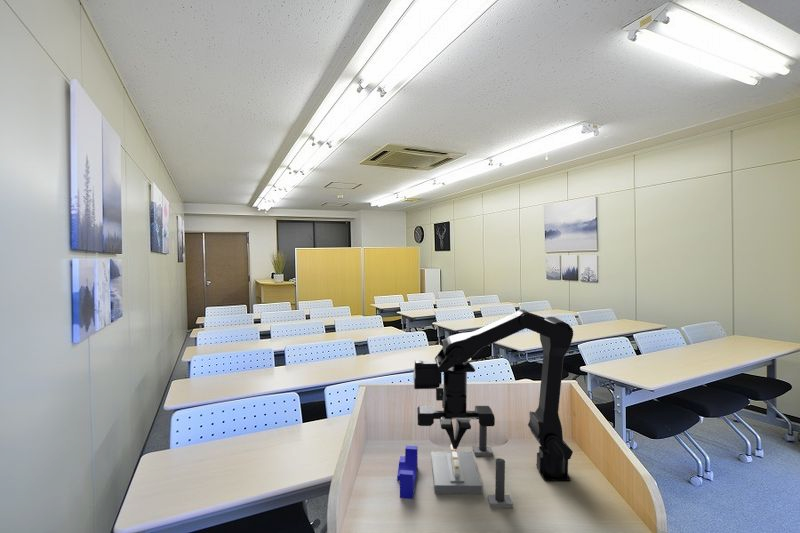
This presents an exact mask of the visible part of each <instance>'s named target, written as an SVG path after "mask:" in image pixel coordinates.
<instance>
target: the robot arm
mask: <svg viewBox="0 0 800 533" xmlns="http://www.w3.org/2000/svg"><path fill="white" fill-rule="evenodd" d="M526 329H527V330H530V331H532V332H535V333H537V334H539V341H540V344H541V349H542V352H543V355H542V356H543V357H542V367H541V379H540V380H541V381H540V388H539V389H540V390H539V399H538V400H539V401H538V407H537V408H536V410H535V411H531V410H530V411H529V412H528V413H529V421H528V424H527V426H528V428H529V429H530V430H529V431H530V432H531V434H532V435H533V437H534V438H535V440H536V441H537V443H538V444H539V446H538V452H537V453H536V464H535V466H536V469H537V471H538V472H539V474H540V475H541V477H542V479H543V480H544V481H545V482H547V481H548V482H553V481H554V482H570V481H571V476H570V475H569V474H568V473H569V472H568V471H569V460H571V459H572V456H573V452H574V451H573V450H572V449H571V447H570V446H569V445H568V444H567V443H566V441H564V435H563V427H562V426H563V425H562V423H561V419H560V416H559V409H560V408H559V407H560V398H561V388H562V379H563V378H562V376H563V367H564V366H563V365H564V359H565V358H564V357H565V356H566V354H567V353H568V351H569V350H570V348H571V345H572V342H573V338H574V330H573V328H572V326H571V325H570V324H569V323H567V322H565V321H563V320H562V319H559V318H557V317H555V316H547V317H544V316H540V315H538V314H534V313H532V312H529V311H527V310H525V309H518V310H516V311H515V312H514V313H511V314H509V315H507V316H504V317H502V318H500V319H499V320H496V321H493V322H492V323H490V324H489V323H488V324H487V325H485V326H483V327H481V328H479V329H475V330H473V331H469V332H467V331H466V332H460V333H456V334H452V335H449V336H447V337H446V338H445V339H444V340H443V343H442V347H441V349H440V350H439V352H438V354H437V355H436V356H435V357H434V360H427V361H426V360H425V361H424V360H414V370H413V389H414V390H435V400H436V401H437V402H438V401H439V402H440V401H442V402H441V404H442V405H441V407H442V409H443V410H434V406H433V405H426V404H425V405H418V407H417V408H416V409H417V410H416V411H417V412H416V413H417V426H419V427H431V426H432V425H433V424H434V423H435V420H439V423H440V428H441V430H445V431H446V433H447V436H448V437H449V440H450V443H451V444H452V446H453V449H456V450H457V449H458V448H459V445H460V443H461V440H462V438H463V437H464V435H465V433H466V432H467V431H468V430H471V429H472V425H471V420H478V424H480V425H481V426H487V427H495V423H496V419H495V414H494V412H493V410H492V408H491V407H490V406H489V405H475V406H474V410H468V409H467V404H468V403H467V401H468V400H467V399H468V398H467V396H468V395H467V392H468V390H467V388H468V383H467V381H468V375H467V374H468V373H474V372H476V369H475V367H474V365H473V364H472V363H470V361H469V360H470V359H472V358H474V356H476V354H477V353H478V352H479V351H480V350H482V349H484V348H485V347H488V346H490V345H493V344H494V343H497V342H498V341H499V342H500V341H501V340H504V339H505V338H508V337H510V336H512V335H514V334H517V333H519V332H521V331H524V330H526ZM442 374H443V375H442ZM442 377H443V378H442ZM442 381H443V382H442ZM442 383H443V385H442ZM441 385H442V386H443V387H440V386H441ZM453 420H455V424H456V425H455V431H454V425H453V424H454V423H453ZM454 432H455V433H454Z"/></svg>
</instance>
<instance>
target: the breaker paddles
mask: <svg viewBox="0 0 800 533" xmlns="http://www.w3.org/2000/svg"><path fill="white" fill-rule="evenodd" d="M449 447H450V448H449V450H450V451H449V452H450V455H451V459H452V465H453V471H454V476H455V477H456V478H459V475H460V466H459V461H458V456H457V452H458V451H457V449H453V446H452V443H451V444H449Z"/></svg>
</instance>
